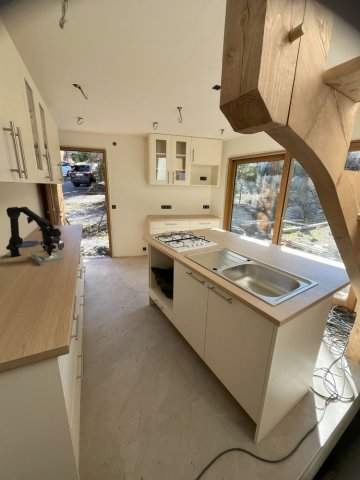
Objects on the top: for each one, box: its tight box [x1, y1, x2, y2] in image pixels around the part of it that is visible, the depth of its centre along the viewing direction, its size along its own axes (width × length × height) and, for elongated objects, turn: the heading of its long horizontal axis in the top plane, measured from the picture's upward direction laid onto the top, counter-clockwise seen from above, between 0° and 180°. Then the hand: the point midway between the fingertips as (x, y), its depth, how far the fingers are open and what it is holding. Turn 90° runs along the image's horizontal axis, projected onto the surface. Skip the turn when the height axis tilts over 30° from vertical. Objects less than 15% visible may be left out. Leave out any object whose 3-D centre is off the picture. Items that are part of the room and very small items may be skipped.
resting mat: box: [37, 252, 63, 264], centre depth 166 cm, size 16×14×1 cm
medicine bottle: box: [52, 236, 65, 252], centre depth 184 cm, size 7×7×12 cm
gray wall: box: [30, 251, 44, 266], centre depth 158 cm, size 24×2×4 cm, turn 48°
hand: (49, 255), depth 165 cm, fingers closed on ball, 5 cm apart
